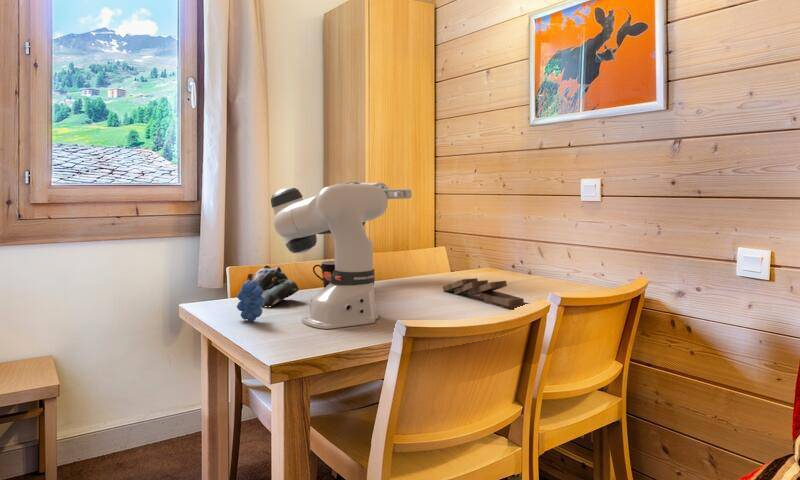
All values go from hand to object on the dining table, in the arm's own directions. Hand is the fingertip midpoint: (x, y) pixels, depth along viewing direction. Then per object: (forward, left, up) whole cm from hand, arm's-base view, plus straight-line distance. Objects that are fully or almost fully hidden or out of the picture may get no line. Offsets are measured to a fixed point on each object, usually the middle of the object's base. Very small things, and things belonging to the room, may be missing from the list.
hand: (399, 194), depth 208 cm
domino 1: (+10, -17, -34) cm, 39 cm away
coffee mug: (-22, +14, -35) cm, 44 cm away
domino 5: (+8, -38, -35) cm, 52 cm away
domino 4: (+8, -37, -33) cm, 50 cm away
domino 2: (+10, -23, -34) cm, 42 cm away
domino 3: (+9, -31, -33) cm, 46 cm away
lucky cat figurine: (-50, +4, -35) cm, 62 cm away
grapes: (-65, -15, -35) cm, 75 cm away
